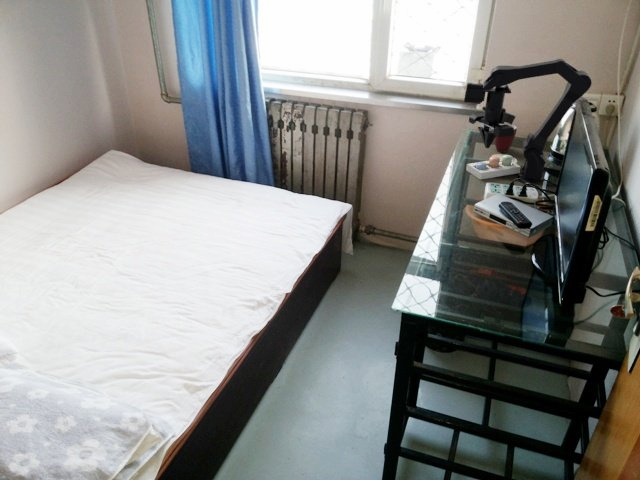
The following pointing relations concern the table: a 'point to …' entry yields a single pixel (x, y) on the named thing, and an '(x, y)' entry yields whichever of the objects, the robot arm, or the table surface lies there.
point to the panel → (492, 170)
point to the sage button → (506, 160)
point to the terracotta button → (494, 162)
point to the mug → (504, 141)
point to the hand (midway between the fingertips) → (487, 147)
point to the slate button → (481, 166)
